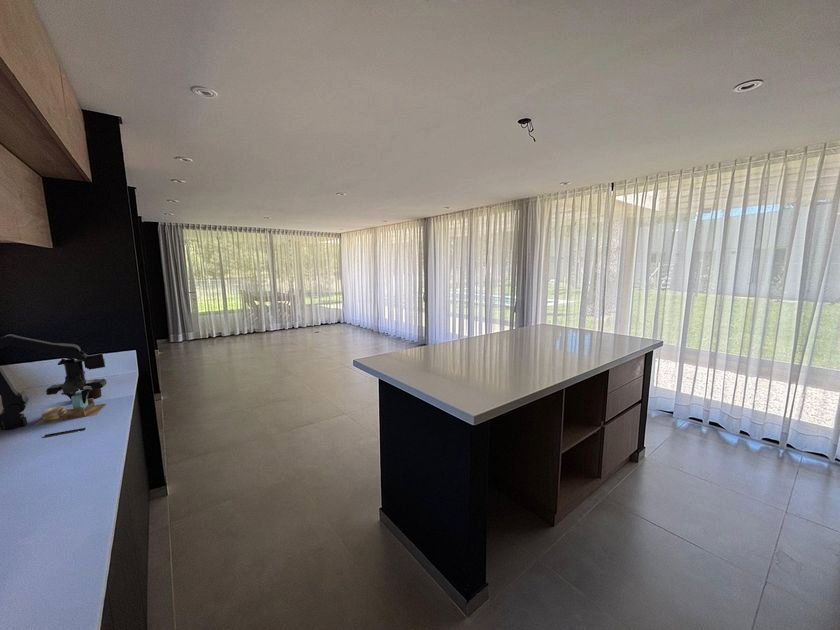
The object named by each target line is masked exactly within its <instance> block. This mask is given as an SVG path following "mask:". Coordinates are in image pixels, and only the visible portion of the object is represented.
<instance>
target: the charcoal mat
mask: <svg viewBox="0 0 840 630" xmlns="http://www.w3.org/2000/svg"><path fill="white" fill-rule="evenodd" d="M85 429H86V427H81V428H76V429H71V430H65V431H64V430H63V431H58V432H53V433H47V434H45V435H43V436H42V438H43V439H45V438H51V437H57V436H62V435H68V434H74V433H79V432H78V431H80V432H84V431H85Z"/></svg>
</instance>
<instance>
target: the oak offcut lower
mask: <svg viewBox="0 0 840 630" xmlns="http://www.w3.org/2000/svg"><path fill="white" fill-rule="evenodd" d="M65 413H66V408H65V409H64V410H63V411H62V412H61V413H60V414H59V415H55V416H49V417H42V418H43V421H46V420H52V419H58V418H60V417H61V416H62V415H63V414H65Z"/></svg>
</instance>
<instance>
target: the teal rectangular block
mask: <svg viewBox="0 0 840 630" xmlns="http://www.w3.org/2000/svg"><path fill="white" fill-rule="evenodd" d="M81 391H82V390H80V389H79V390H78V391H77V392H76V393H75V394H74V395H73V396H72V397H71V399H72V400H71V399H70V400H71V402H72V409H75V408H81V407H84V408H86V407H87V406H88V400H86V403H85V404H84V403H83V394H82V392H81Z"/></svg>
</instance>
